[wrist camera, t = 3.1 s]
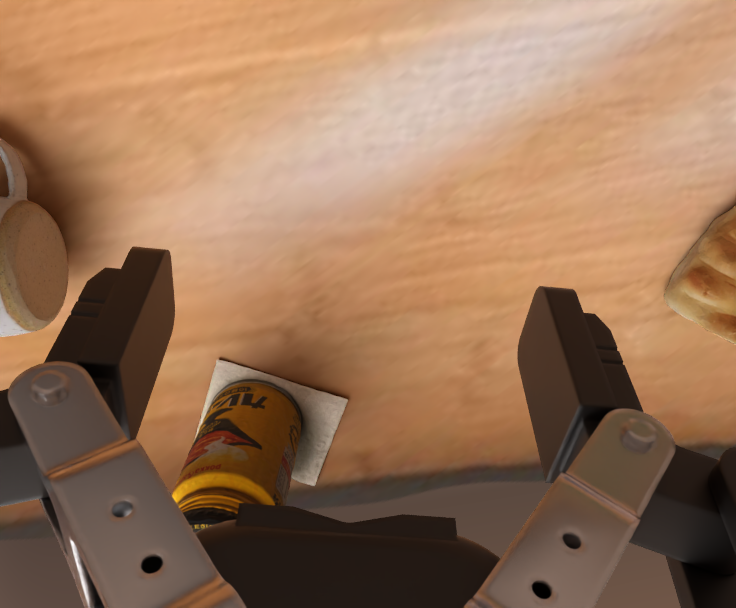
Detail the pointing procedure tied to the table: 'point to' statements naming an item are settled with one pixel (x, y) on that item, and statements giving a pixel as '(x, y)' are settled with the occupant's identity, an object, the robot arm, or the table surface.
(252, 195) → the table surface
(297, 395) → the condiment
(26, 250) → the ceramic mug
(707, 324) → the pastry
